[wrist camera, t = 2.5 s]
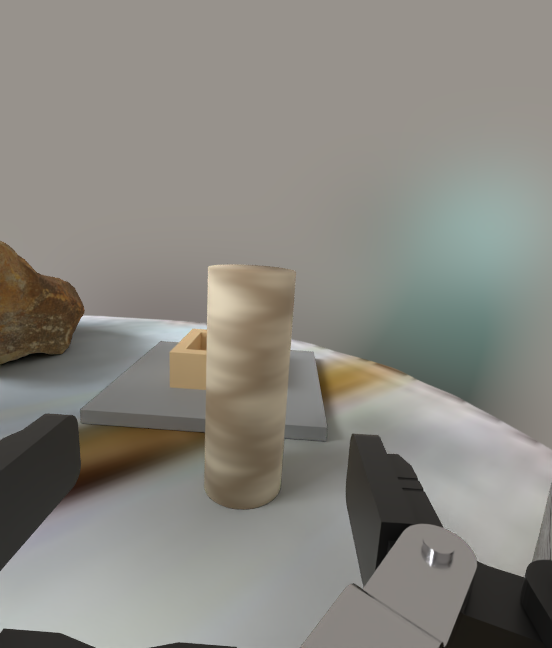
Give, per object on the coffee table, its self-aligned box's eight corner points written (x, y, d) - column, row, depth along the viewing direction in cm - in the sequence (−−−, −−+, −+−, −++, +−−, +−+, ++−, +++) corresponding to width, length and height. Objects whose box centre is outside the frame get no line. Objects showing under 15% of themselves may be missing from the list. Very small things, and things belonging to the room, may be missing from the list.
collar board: (80, 423, 32) (77, 368, 31) (160, 350, 51) (160, 315, 50) (326, 441, 31) (331, 386, 30) (312, 360, 51) (315, 325, 50)
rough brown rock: (109, 377, 43) (114, 241, 41) (-97, 401, 32) (-106, 217, 30) (58, 335, 61) (59, 237, 58) (-89, 341, 50) (-94, 220, 47)
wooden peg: (196, 505, 23) (198, 270, 20) (212, 458, 28) (217, 262, 25) (279, 512, 23) (296, 276, 20) (281, 463, 28) (295, 267, 25)
